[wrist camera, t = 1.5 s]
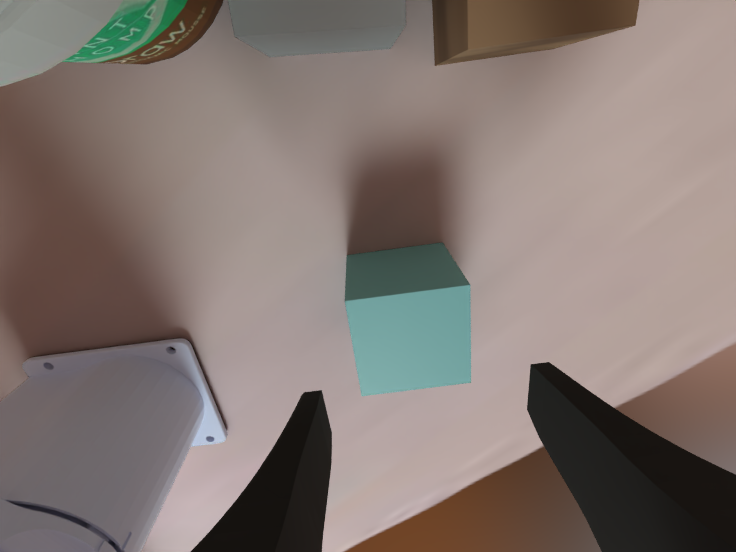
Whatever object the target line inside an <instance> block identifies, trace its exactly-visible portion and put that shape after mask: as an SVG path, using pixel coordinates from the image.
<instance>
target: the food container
mask: <svg viewBox="0 0 736 552" xmlns="http://www.w3.org/2000/svg"><path fill="white" fill-rule="evenodd" d="M222 3H223V0H0V86H5V85H8V84H11V83H14V82H17V81H21V80H24V79H27V78H30V77H33V76H36V75H39V74H42V73H44V72H45V71H47V70H49V69H50V68H52V67H54V66H55V65H57V64H59V63H60V62H86V63H119V64H150V63H153V62H157V61H161V60H165V59H169V58H173V57H175V56H176V55H178V54H180V53H182V52H184V51H185V50H187V49H189V48H190V47H191V46H192V45H193V44H194V43H196V42H197V41H198V40H199V39H200V38H201V37H202V36H203V35H204V33H205V32H206V31H207V30H208V28H209V27H210V26H211V24H212V23H213V21H214V19H215V17H216V15H217V13H218V11H219V10H220V8H221V6H222Z"/></svg>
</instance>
